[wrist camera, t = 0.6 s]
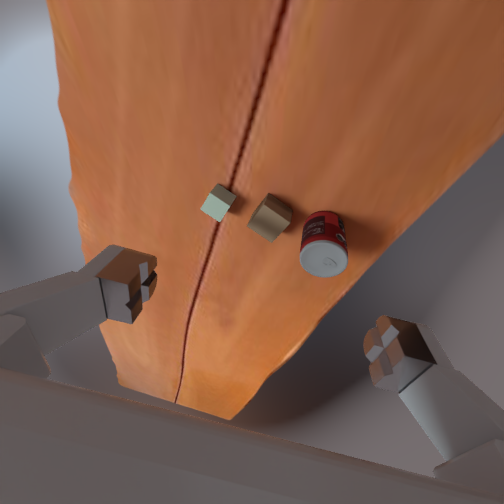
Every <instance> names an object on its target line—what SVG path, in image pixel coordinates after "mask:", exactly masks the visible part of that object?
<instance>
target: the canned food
mask: <svg viewBox="0 0 504 504" xmlns="http://www.w3.org/2000/svg"><path fill="white" fill-rule="evenodd" d="M300 263H301V265H302V267H303V268H304V269H305V270H306V271H307V272H308V273H310V274H312V275H314V276H318V277H332V276H336V275H338V274H340V273H341V272H343V271H344V270H345V268H346V267H347V264H348V252H347V244H346V237H345V229H344V224H343V222H342V220H341V219H340V218H339V217H338V216H337V215H336V214H334V213H332V212H328V211H319V212H315V213H313V214H311V215H310V216H309V217H308V218H307V219H306V221H305V223H304V226H303V233H302V241H301V249H300Z"/></svg>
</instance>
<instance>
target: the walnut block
mask: <svg viewBox="0 0 504 504" xmlns="http://www.w3.org/2000/svg"><path fill="white" fill-rule="evenodd" d="M292 212H293V210H292V209H290V208H289V207H288V206H286V205H285V204H283V203H282V202H281V201H279V200H278V199H276V198H275V197H274V196H272V195H271V194H269V193H268V194H267V196H266V197H265V198H264V199H263V201H262V202H261V203H260V205H259V206H258V207H257V209H256V210H255V211H254V213H253V214H252V216H251V218H250V221H249V223H248V225H247V226H248V227H249V228H251V229H252V230H253V231H255V232H256V233H258V234H259V235H261V236H262V237H264V238H265V239H267V240H268V241H270V242H271V243H272V242H273V241H274V240H275V239H276V238H277V237H278V236H279V235H280V234H281V232H282V231H283V230H284V229H285V228H286V227H287V226H288V225H289V224H290V223H291V218H292Z"/></svg>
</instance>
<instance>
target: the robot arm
mask: <svg viewBox="0 0 504 504" xmlns="http://www.w3.org/2000/svg"><path fill="white" fill-rule="evenodd" d="M156 266H157V258H156V257H155V256H153V255H150V254H146V253H143V252H139V251H136V250H132V249H129V248H124V247H121V246H117V245H109V246H108V247H107V248H105V249H104V250H103V251H102V252H101V253H99V254H98V255H97V256H96V257H95V258H93V259H92V260H91V261H90V262H89V263H88V264H86V265H85V266H84V267H83V268H82V269H80V270H79V271H78V272H73V271H71V272H68V273H65V274H61V275H58V276H55V277H52V278H48V279H45V280H42V281H38V282H35V283H32V284H29V285H26V286H22V287H19V288H16V289H12V290H9V291H5V292H2V293H0V504H504V410H503V409H502V408H501V407H499V406H498V405H497V404H496V403H495V402H494V401H493V400H492V399H491V398H489V397H488V396H487V395H486V394H485V393H484V392H483V391H482V390H480V389H479V388H478V387H477V386H476V385H475V384H474V383H473V382H471V381H470V380H469V379H468V378H467V377H466V376H465V375H464V374H462V373H461V372H460V371H457V370H455V369H454V367H453V365H452V364H451V362H450V360H449V359H448V357H447V355H446V354H445V352H444V350H443V349H442V347H441V345H440V343H439V342H438V340H437V338H436V336H435V335H434V333H433V331H432V330H431V329H430V328H429V327H428V326H427V325H422V324H418V323H414V322H409V321H405V320H401V319H397V318H393V317H389V316H385V315H383V316H381V317H379V318H378V320H377V321H376V325H377V327H375V328H373V329H370V330H369V331H368V333H367V334H366V336H365V339H364V351H365V355H366V357H367V358H368V359H369V360H370V361H371V364H370V366H369V370H370V374H371V377H372V380H373V384H374V387H378V388H381V389H385V390H388V391H392V392H395V393H399V396H400V398H401V399H402V400H403V402H404V403H405V405H406V406H407V407H408V409H409V410H410V412H411V413H412V414H413V416H414V417H415V419H416V420H417V421H418V423H419V424H420V425H421V427H422V428H423V430H424V431H425V433H426V434H427V435H428V437H429V438H430V440H431V441H432V442H433V444H434V445H435V446H436V448H437V449H438V451H439V452H440V453H441V455H442V456H443V457H444V459H445V460H446V462H445V463H442V464H440V465H438V466H436V467H435V468H434V470H433V473H434V475H435V478H433V477H429V476H425V475H421V474H417V473H413V472H409V471H405V470H401V469H397V468H393V467H390V466H386V465H382V464H378V463H374V462H370V461H366V460H362V459H358V458H354V457H350V456H347V455H343V454H338V453H335V452H331V451H327V450H323V449H319V448H315V447H311V446H307V445H304V444H300V443H295V442H292V441H288V440H284V439H280V438H276V437H272V436H268V435H264V434H261V433H257V432H253V431H249V430H245V429H241V428H236V427H233V426H229V425H225V424H221V423H218V422H214V421H210V420H206V419H202V418H198V417H194V416H190V415H186V414H182V413H178V412H175V411H170V410H167V409H163V408H159V407H154V406H151V405H147V404H143V403H139V402H135V401H131V400H127V399H124V398H120V397H116V396H111V395H108V394H104V393H100V392H96V391H92V390H88V389H84V388H80V387H76V386H72V385H69V384H65V383H61V382H57V381H53V380H49V379H47V377H48V376H49V375H50V374H51V371H50V367H49V365H48V363H47V361H46V359H45V357H44V356H45V355H47V354H49V353H51V352H52V351H54V350H56V349H58V348H59V347H61V346H63V345H65V344H66V343H68V342H70V341H71V340H73V339H75V338H77V337H78V336H80V335H82V334H83V333H85V332H87V331H89V330H90V329H92V328H94V327H95V326H97V325H99V324H101V323H102V322H104V321H106V320H107V319H111V320H116V321H120V322H125V323H129V324H133V322H134V321H135V319H136V318H137V317H138V315H139V314H140V312H141V311H142V309H143V308H142V303H143V302H145V301H147V300H149V299H150V298H151V296H152V294H153V292H154V290H155V288H156V284H157V274H156V273H155V271H154V269H155V267H156Z"/></svg>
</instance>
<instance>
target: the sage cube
mask: <svg viewBox="0 0 504 504" xmlns="http://www.w3.org/2000/svg"><path fill="white" fill-rule="evenodd" d="M236 197H237V196H235V195H234V194H232V193H231V192H229V191H228V190H227V189H225V188H224V187H222V186H221V185H219V184H217V185H216V186H215V187H214V188H213V190H212V191H211V192H210V193H209V195H208V197H207V199H206V201H205V202H204V204H203V206H202V208H201V210H202V211H204V212H205V213H207V214H208V215H210V216H211V217H213V218H214V219H216V220H217V221H219V222H220V221H221V220H222V218H223V217H224V215H225V214H226V212H227V211H228V209H229V208H230V206H231V204H232V203H233V201H234V200H235V198H236Z"/></svg>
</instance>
